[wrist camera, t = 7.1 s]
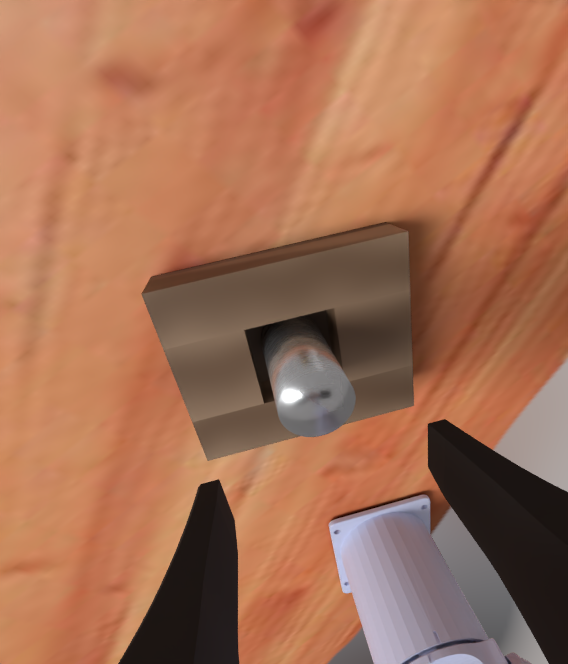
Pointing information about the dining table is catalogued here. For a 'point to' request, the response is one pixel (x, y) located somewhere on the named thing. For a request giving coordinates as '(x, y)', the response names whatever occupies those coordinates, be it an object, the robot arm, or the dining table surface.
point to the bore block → (277, 305)
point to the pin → (306, 378)
